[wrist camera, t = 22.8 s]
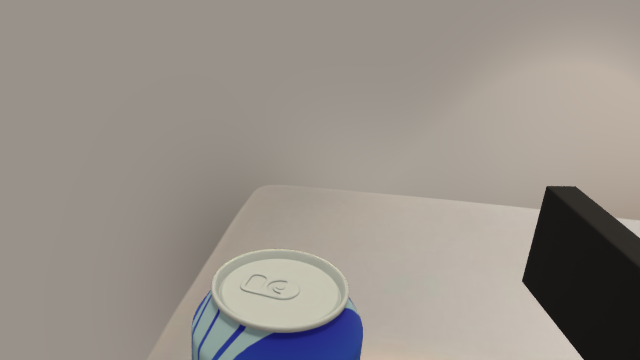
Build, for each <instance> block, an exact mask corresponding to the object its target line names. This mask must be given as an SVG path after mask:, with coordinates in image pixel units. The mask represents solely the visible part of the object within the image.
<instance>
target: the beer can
mask: <svg viewBox="0 0 640 360" xmlns="http://www.w3.org/2000/svg"><path fill="white" fill-rule="evenodd" d="M362 340H363V327H362V322H361V319H360V316H359V314H358V312H357V310H356V308H355V306H354V304H353V303H352V301H351V299H350V298H349V287H348V283H347V281H346V279H345V277H344V275H343V274H342V273H341V272H340V271H339V270H338V269H337V268H336V267H335V266H334V265H332V264H331V263H329V262H328V261H326V260H324V259H322V258H320V257H317V256H315V255H312V254H309V253H305V252H301V251H295V250H287V249H266V250H258V251H253V252H249V253H246V254H243V255H240V256H237V257H235V258H233V259H231V260H230V261H228V262H227V263H225V264H224V265H223V266H221V267H220V268H219V270H218V271H217V272H216V274H215V275H214V277H213V280H212V284H211V290H210V292H209V293H208V294H207V296H206V297H205V298H204V300H203V301H202V302H201V304H200V305H199V307H198V309H197V311H196V313H195V315H194V318H193V323H192V360H360V355H361V348H362Z"/></svg>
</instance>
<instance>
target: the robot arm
mask: <svg viewBox="0 0 640 360" xmlns="http://www.w3.org/2000/svg"><path fill="white" fill-rule="evenodd" d="M522 282H523V283H524V284H525V286H526V287H527V288H528V289H529V291H530V292H531V293H532V295H533V296H534V297H535V298H536V300H537V301H538V302H539V303H540V305H541V306H542V307H543V308H544V310H545V311H546V312H547V314H548V315H549V316H550V317H551V319H552V320H553V321H554V322H555V324H556V325H557V326H558V328H559V329H560V330H561V331H562V333H563V334H564V335H565V336H566V338H567V339H568V340H569V341H570V343H571V344H572V345H573V347H574V348H575V349H576V350H577V352H578V353H579V354H580V355H581V357H582V358H583V359H584V360H640V238H639V237H638V236H636V235H635V234H634V233H633V232H631V231H630V230H629V229H628V228H626V227H625V226H624V225H623V224H622V223H620V222H619V221H618V220H617V219H615V218H614V217H613V216H612V215H610V214H609V213H608V212H606V211H605V210H604V209H603V208H602V207H600V206H599V205H598V204H597V203H595V202H594V201H593V200H592V199H590V198H589V197H588V196H586V195H585V194H584V193H583V192H582V191H580V190H579V189H578V188H577V187H570V186H566V187H565V186H563V187H562V186H547V187H546V191H545V195H544V199H543V202H542V206H541V210H540V214H539V218H538V222H537V225H536V229H535V233H534V237H533V241H532V245H531V249H530V252H529V256H528V260H527V264H526V268H525V272H524V276H523V279H522Z"/></svg>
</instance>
